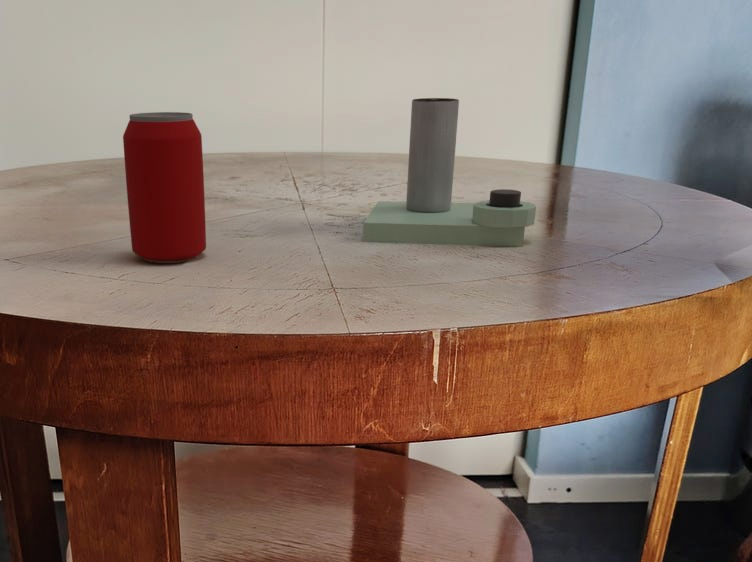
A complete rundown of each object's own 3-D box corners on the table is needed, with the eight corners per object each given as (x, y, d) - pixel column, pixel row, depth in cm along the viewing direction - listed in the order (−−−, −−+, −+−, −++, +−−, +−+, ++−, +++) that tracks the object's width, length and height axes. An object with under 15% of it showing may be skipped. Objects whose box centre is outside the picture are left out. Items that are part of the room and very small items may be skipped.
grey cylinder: (459, 208, 92) (468, 99, 88) (433, 214, 89) (441, 101, 85) (423, 204, 95) (430, 97, 90) (397, 209, 92) (402, 99, 88)
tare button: (518, 206, 86) (520, 189, 85) (519, 211, 83) (521, 194, 83) (488, 206, 86) (490, 189, 86) (488, 210, 84) (490, 193, 83)
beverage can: (184, 247, 86) (177, 110, 80) (220, 259, 81) (215, 114, 75) (120, 255, 83) (107, 114, 77) (153, 269, 78) (142, 118, 72)
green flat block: (526, 223, 95) (530, 188, 94) (532, 249, 83) (537, 210, 82) (377, 219, 98) (378, 185, 97) (361, 244, 86) (363, 206, 85)
